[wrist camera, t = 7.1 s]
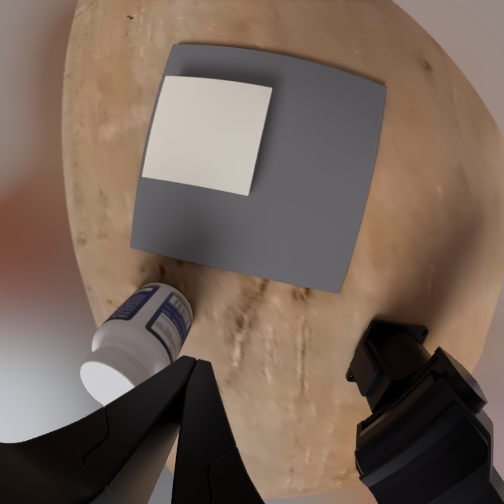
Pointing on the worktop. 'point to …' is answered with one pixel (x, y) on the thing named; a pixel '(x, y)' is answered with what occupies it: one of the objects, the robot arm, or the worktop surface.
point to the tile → (207, 133)
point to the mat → (274, 174)
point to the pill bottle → (137, 341)
